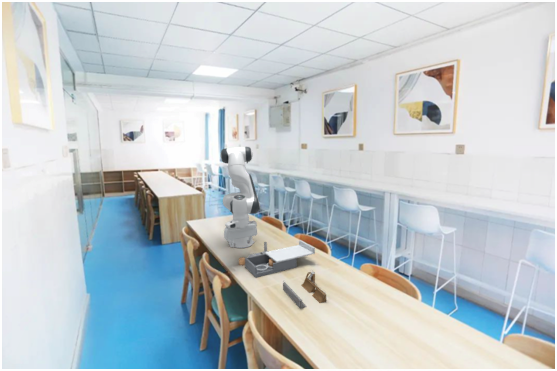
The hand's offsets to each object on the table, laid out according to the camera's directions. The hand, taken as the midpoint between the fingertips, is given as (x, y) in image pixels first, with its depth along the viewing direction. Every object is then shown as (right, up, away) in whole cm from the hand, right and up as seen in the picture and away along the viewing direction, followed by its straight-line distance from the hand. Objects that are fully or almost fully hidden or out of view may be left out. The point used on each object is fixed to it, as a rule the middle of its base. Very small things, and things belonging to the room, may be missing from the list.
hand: (241, 244), depth 171 cm
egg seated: (+19, -12, -3) cm, 23 cm away
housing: (+18, -14, -3) cm, 23 cm away
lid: (+29, -6, +2) cm, 30 cm away
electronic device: (+10, -12, +14) cm, 21 cm away
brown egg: (0, -13, +2) cm, 13 cm away
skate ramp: (+40, -18, -31) cm, 54 cm away
